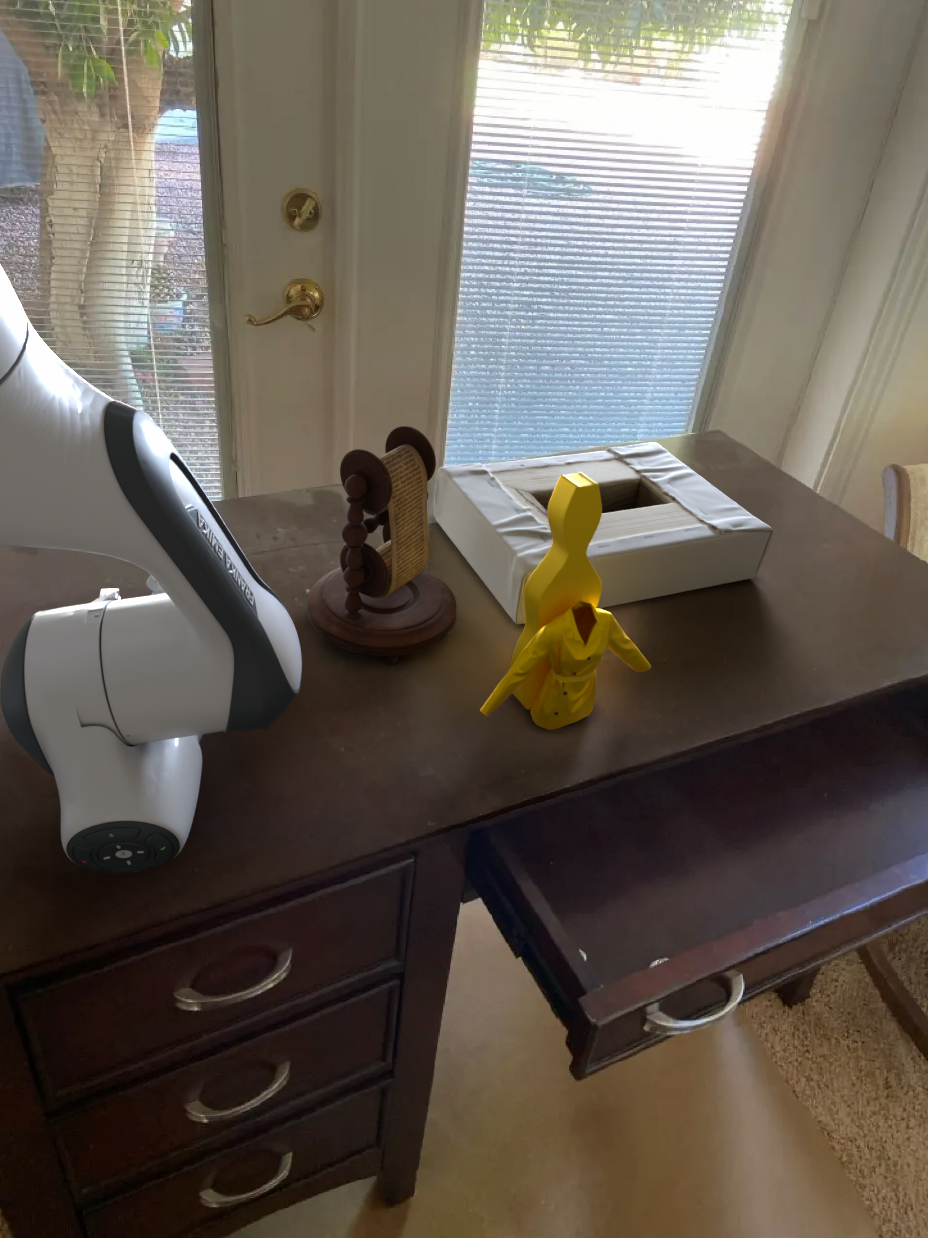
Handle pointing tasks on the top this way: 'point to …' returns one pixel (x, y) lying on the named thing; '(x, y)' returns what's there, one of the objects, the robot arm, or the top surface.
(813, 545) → the top surface
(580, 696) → the yellow coat with case
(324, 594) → the scroll
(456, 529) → the box
